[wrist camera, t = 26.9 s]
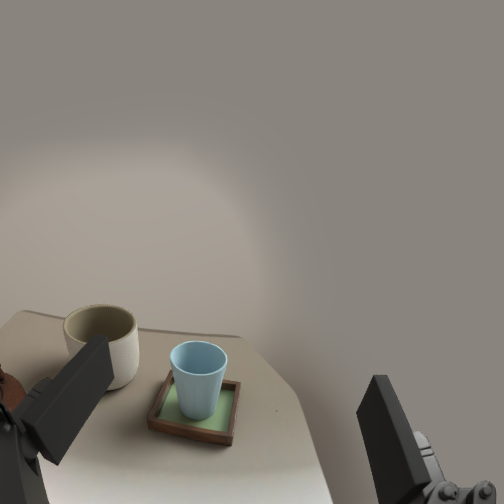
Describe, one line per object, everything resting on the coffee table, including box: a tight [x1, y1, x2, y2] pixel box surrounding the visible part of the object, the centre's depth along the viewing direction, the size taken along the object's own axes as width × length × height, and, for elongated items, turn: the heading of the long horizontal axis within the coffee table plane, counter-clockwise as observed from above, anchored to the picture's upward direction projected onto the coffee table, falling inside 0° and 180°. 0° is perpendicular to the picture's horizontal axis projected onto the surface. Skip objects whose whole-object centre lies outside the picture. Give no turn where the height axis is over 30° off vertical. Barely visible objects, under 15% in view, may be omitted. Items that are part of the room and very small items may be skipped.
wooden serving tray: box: [147, 370, 241, 446], centre depth 40 cm, size 12×12×2 cm
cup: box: [170, 341, 227, 420], centre depth 39 cm, size 8×8×10 cm
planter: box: [63, 304, 139, 390], centre depth 42 cm, size 12×12×11 cm
